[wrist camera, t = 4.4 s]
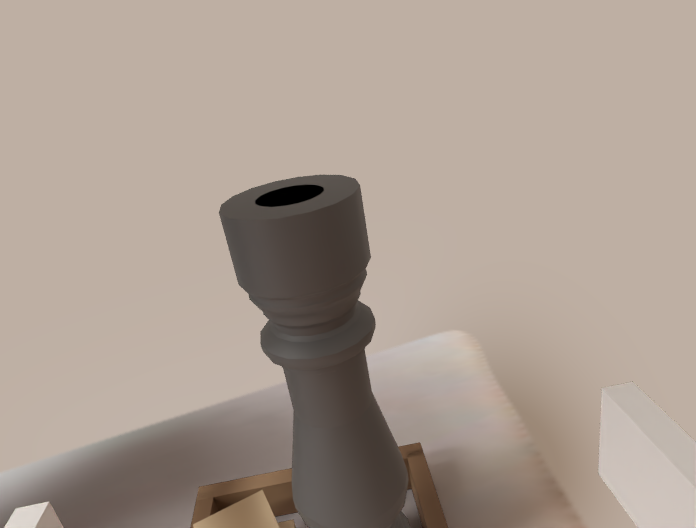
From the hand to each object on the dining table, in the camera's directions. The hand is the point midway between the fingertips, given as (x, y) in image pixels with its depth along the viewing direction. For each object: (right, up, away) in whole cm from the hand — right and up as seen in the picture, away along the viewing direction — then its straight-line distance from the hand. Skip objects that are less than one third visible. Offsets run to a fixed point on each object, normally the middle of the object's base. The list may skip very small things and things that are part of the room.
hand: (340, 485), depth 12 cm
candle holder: (+2, -15, +18) cm, 23 cm away
